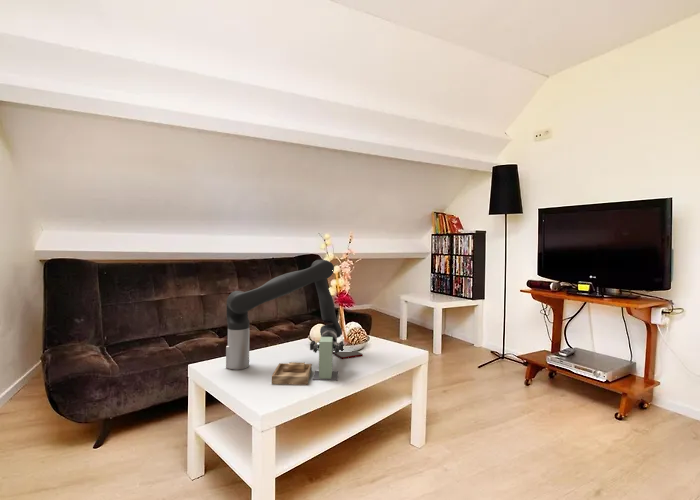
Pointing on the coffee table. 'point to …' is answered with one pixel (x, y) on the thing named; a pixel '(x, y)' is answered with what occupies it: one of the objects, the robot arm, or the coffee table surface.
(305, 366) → the offcut lower
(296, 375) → the wooden tray
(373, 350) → the coffee table surface
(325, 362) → the green rectangular block
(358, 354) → the smartphone
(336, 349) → the robot arm
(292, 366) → the offcut upper
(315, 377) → the mat
